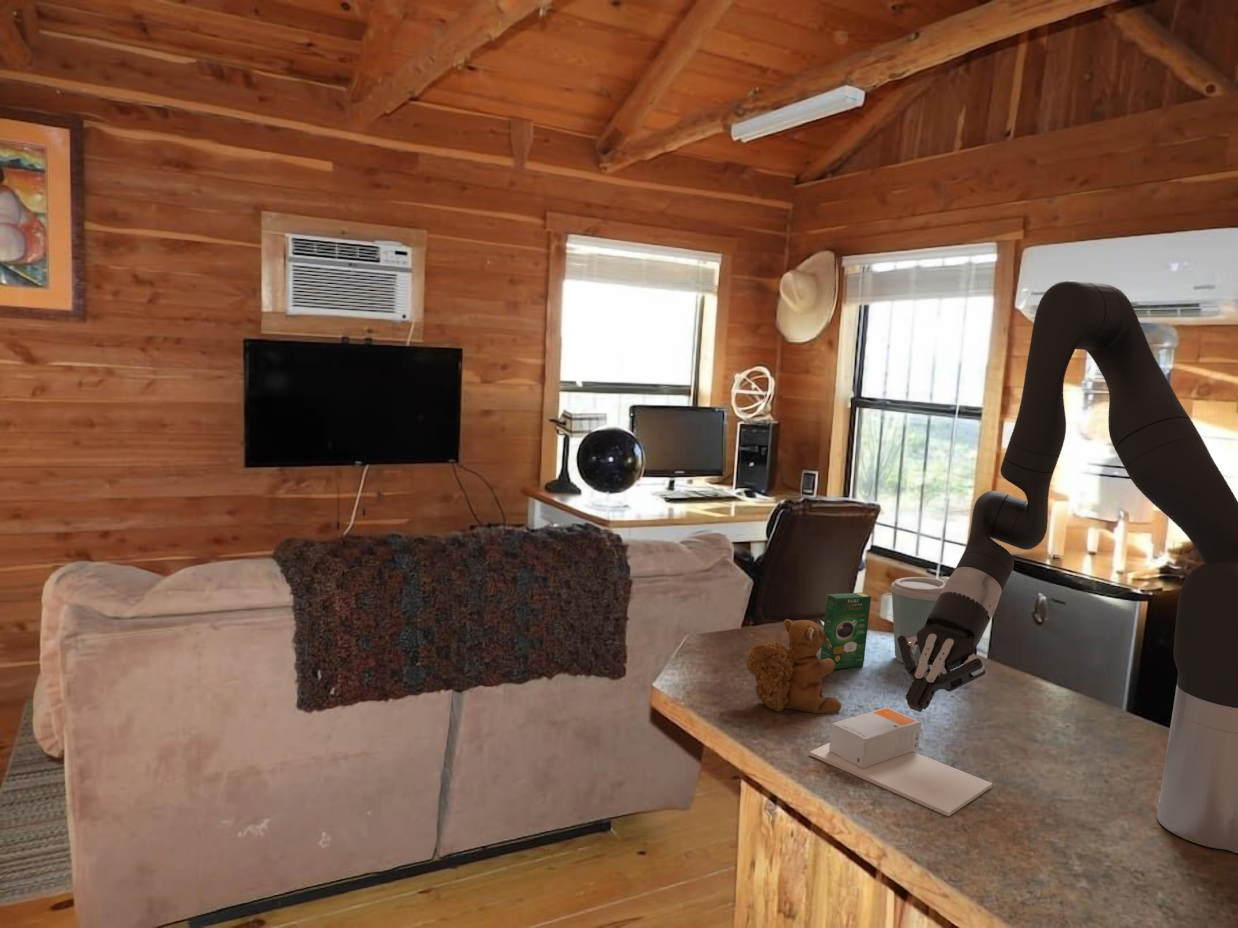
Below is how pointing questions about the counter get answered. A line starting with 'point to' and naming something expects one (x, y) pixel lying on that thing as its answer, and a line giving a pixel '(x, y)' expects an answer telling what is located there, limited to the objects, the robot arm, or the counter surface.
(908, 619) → the disposable coffee cup
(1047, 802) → the counter surface
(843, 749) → the skincare box
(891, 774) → the flat beige rectangular board
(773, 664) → the stuffed squirrel
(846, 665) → the coffee box
